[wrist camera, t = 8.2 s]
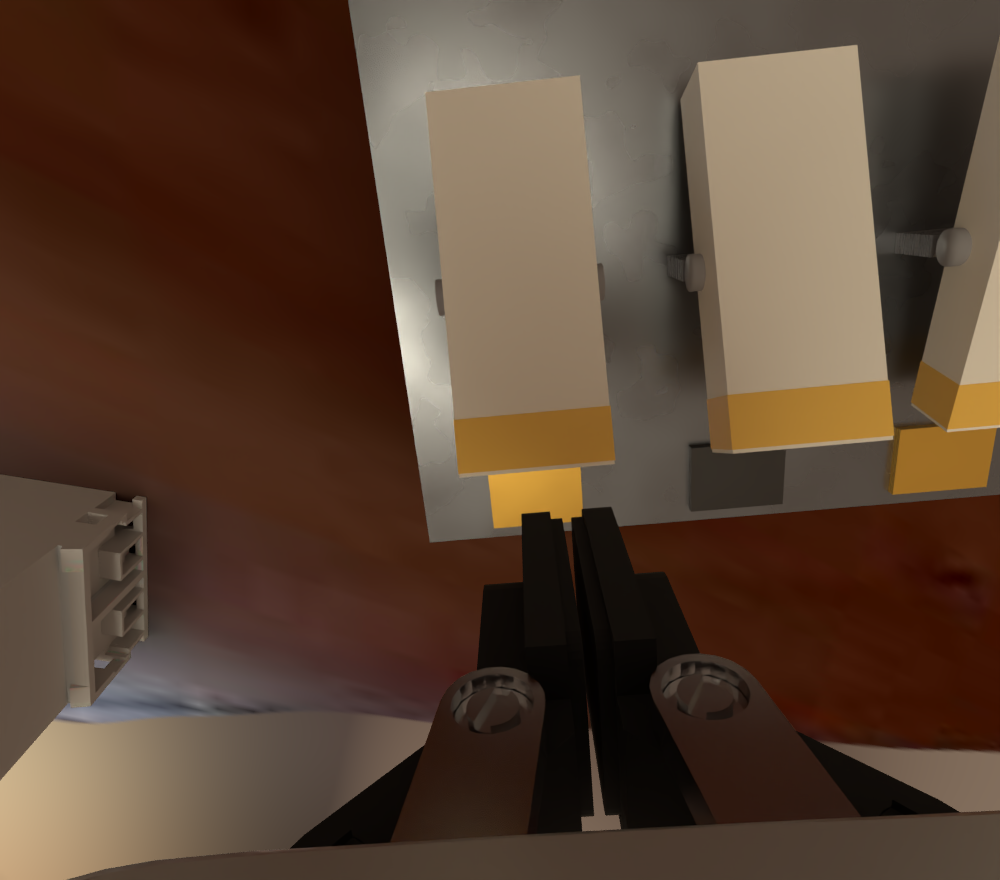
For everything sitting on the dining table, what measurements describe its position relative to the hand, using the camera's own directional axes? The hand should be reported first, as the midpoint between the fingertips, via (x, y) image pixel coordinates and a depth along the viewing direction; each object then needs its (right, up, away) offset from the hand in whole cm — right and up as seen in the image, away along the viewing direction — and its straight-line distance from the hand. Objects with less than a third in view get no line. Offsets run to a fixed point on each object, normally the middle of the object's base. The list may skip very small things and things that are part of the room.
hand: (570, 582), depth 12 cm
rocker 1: (-1, +7, +6) cm, 9 cm away
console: (+6, +10, +13) cm, 17 cm away
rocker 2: (+6, +7, +6) cm, 11 cm away
